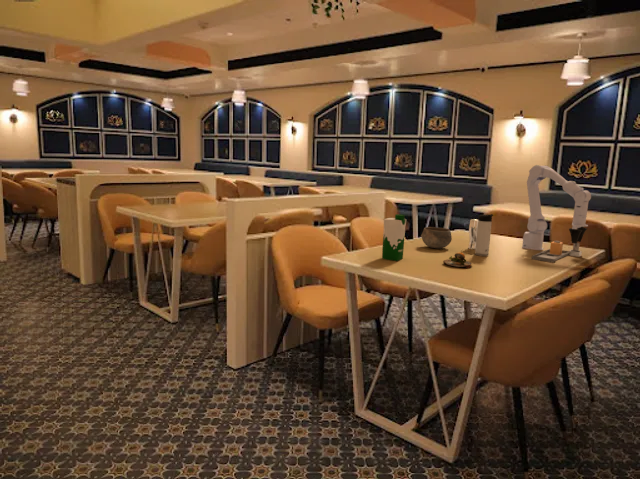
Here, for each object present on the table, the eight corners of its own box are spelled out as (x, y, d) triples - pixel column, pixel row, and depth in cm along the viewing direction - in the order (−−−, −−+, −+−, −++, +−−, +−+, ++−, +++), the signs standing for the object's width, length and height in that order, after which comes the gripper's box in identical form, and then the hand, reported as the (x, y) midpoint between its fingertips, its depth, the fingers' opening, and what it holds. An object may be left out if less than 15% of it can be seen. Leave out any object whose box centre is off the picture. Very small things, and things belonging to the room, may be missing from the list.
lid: (531, 259, 236) (531, 255, 236) (540, 255, 246) (540, 252, 245) (553, 262, 230) (554, 259, 229) (561, 259, 239) (562, 255, 239)
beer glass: (464, 247, 259) (467, 219, 257) (474, 247, 262) (477, 218, 260) (473, 250, 253) (476, 221, 251) (484, 249, 256) (487, 220, 254)
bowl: (416, 245, 260) (417, 226, 258) (442, 245, 264) (443, 226, 263) (429, 250, 247) (431, 230, 245) (456, 250, 251) (458, 230, 250)
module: (549, 254, 248) (551, 241, 247) (552, 253, 251) (553, 240, 250) (559, 255, 245) (560, 242, 244) (561, 254, 248) (563, 241, 247)
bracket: (568, 256, 247) (568, 250, 246) (570, 255, 250) (571, 249, 250) (578, 258, 244) (579, 252, 243) (581, 256, 247) (581, 250, 247)
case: (539, 255, 245) (540, 252, 245) (550, 251, 258) (550, 248, 257) (561, 259, 239) (561, 255, 238) (570, 255, 251) (571, 251, 251)
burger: (437, 263, 218) (439, 246, 216) (460, 262, 222) (461, 246, 221) (454, 269, 207) (455, 252, 205) (477, 268, 211) (479, 251, 210)
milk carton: (398, 261, 217) (401, 216, 213) (379, 258, 221) (381, 214, 218) (405, 258, 224) (408, 214, 221) (386, 255, 228) (389, 212, 225)
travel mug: (489, 256, 237) (494, 215, 234) (475, 255, 238) (479, 214, 235) (488, 254, 243) (492, 213, 240) (474, 253, 245) (478, 212, 241)
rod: (571, 256, 247) (573, 242, 246) (572, 256, 249) (574, 242, 248) (576, 257, 245) (578, 243, 244) (578, 256, 247) (580, 243, 246)
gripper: (585, 217, 236) (581, 245, 238) (592, 215, 246) (588, 242, 249) (569, 215, 240) (565, 243, 242) (577, 213, 251) (573, 240, 253)
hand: (576, 242), depth 246 cm, fingers open, 7 cm apart
